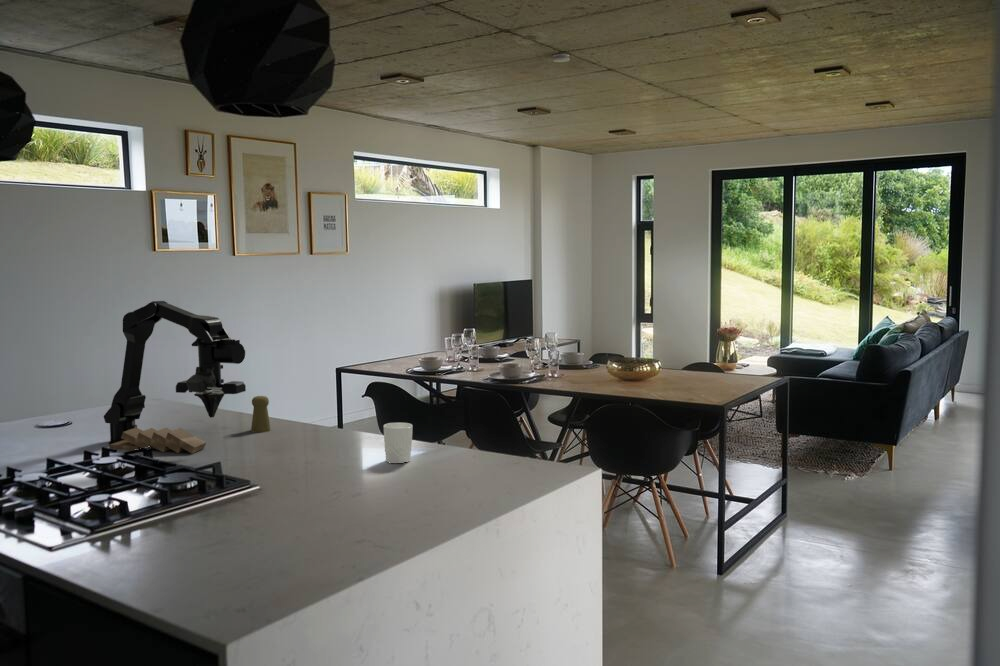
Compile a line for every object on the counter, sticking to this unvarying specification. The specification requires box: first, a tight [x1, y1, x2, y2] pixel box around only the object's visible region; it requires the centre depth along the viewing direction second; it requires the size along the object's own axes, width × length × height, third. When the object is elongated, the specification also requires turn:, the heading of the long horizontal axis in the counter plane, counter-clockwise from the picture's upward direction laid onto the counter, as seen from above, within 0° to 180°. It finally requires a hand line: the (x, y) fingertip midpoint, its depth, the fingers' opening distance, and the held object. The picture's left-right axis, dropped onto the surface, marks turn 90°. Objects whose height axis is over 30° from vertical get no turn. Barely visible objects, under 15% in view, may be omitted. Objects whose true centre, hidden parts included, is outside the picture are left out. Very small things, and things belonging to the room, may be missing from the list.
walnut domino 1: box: [109, 440, 140, 451], centre depth 231 cm, size 2×6×9 cm
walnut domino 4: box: [152, 427, 186, 454], centre depth 228 cm, size 2×6×9 cm
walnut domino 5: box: [166, 427, 207, 454], centre depth 228 cm, size 2×6×9 cm
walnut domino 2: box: [121, 427, 156, 450], centre depth 230 cm, size 2×6×9 cm
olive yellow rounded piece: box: [250, 395, 271, 433], centre depth 255 cm, size 6×6×11 cm
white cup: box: [383, 422, 413, 464], centre depth 219 cm, size 8×8×10 cm
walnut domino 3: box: [137, 427, 171, 453], centre depth 229 cm, size 2×6×9 cm
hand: (211, 417), depth 225 cm, fingers closed
